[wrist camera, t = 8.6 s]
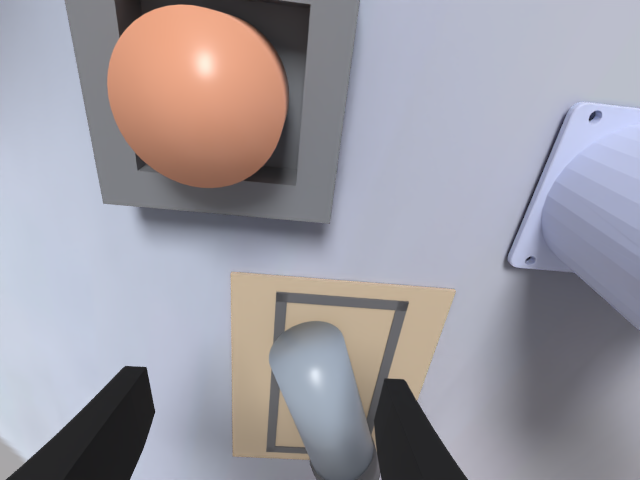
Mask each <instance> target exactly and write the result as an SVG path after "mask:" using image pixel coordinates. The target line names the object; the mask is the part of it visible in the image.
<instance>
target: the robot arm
mask: <svg viewBox="0 0 640 480" xmlns="http://www.w3.org/2000/svg"><path fill="white" fill-rule="evenodd" d="M594 111H595V112H596V114H595V117H594V118H593V119H592V120H591V121H589V116H590V115H591V113H593V112H594ZM530 256H532V257H531V258H530V259H529V260H528V261H525V260H526V259H527V258H528V257H530ZM508 262H509V263H510V264H511V265H512V266H513V267H516V268H526V269H538V270H550V271H562V272H574V273H576V274H577V275H578V276H579V277H580V278H581V279H582V280H583V281H584V282H586V283H587V284H588V285H589V286H590V287H591V288H592V289H593V290H595V291H596V292H597V293H598V294H599V295H600V296H601V297H602V298H603V299H605V300H606V301H607V302H608V303H609V304H610V305H611V306H612V307H613V308H615V309H616V310H617V311H618V312H619V313H620V314H621V315H622V316H623V317H625V318H626V319H627V320H628V321H629V322H630V323H631V324H632V325H634V326H635V327H636V328H637V329H638V330H639V331H640V108H634V107H625V106H616V105H608V104H599V103H591V102H578V103H576V104H574V105H573V106H572V107H571V108H570V109H569V111H568V113H567V115H566V117H565V120H564V122H563V124H562V127H561V129H560V132H559V134H558V137H557V139H556V141H555V144H554V146H553V149H552V151H551V153H550V156H549V158H548V161H547V163H546V165H545V168H544V170H543V173H542V175H541V178H540V180H539V182H538V185H537V187H536V190H535V192H534V194H533V197H532V199H531V202H530V204H529V206H528V209H527V211H526V214H525V216H524V219H523V221H522V223H521V226H520V228H519V231H518V233H517V235H516V238H515V240H514V243H513V245H512V247H511V250H510V252H509V255H508ZM154 414H155V409H154V404H153V398H152V393H151V388H150V383H149V378H148V373H147V368H146V367H133V366H125V367H124V368H122V369H121V370H120V371H119V373H118V374H117V375H116V376H115V377H114V378H113V379H112V380H111V381H110V382H109V383H108V384H107V385H106V386H105V387H104V388H103V389H102V390H101V391H100V392H99V393H98V394H97V395H96V396H95V397H94V398H93V399H92V400H91V401H90V402H89V403H88V404H87V405H86V406H85V407H84V408H83V409H82V410H81V411H80V412H79V413H78V414H77V415H76V416H75V417H74V418H73V419H72V420H71V421H70V422H69V423H68V424H67V425H66V426H65V427H64V428H63V429H62V430H61V431H60V432H59V433H57V434H56V435H55V436H54V437H53V438H52V439H51V440H50V441H49V442H48V443H47V444H46V445H44V446H43V447H42V448H41V449H40V450H39V451H38V452H37V453H36V454H34V455H33V456H32V457H31V458H30V459H29V460H28V461H27V462H26V463H25V464H23V465H22V466H21V467H20V468H19V469H18V470H17V471H15V472H14V473H13V474H12V475H11V476H10V477H8V478H7V479H6V480H130V478H131V476H132V474H133V471H134V469H135V467H136V465H137V462H138V460H139V458H140V455H141V453H142V451H143V448H144V445H145V442H146V439H147V436H148V433H149V430H150V427H151V424H152V420H153V417H154ZM374 428H375V439H376V449H377V457H378V463H379V468H380V473H381V478H382V480H468V479H467V478H466V476H465V475H464V473H463V472H462V471H461V469H460V468H459V466H458V465H457V464H456V462H455V461H454V459H453V458H452V456H451V455H450V453H449V452H448V450H447V449H446V447H445V446H444V444H443V443H442V441H441V439H440V438H439V436H438V435H437V433H436V432H435V430H434V429H433V427H432V425H431V424H430V422H429V420H428V419H427V417H426V415H425V414H424V412H423V410H422V409H421V407H420V405H419V404H418V402H417V400H416V398H415V397H414V395H413V393H412V391H411V389H410V388H409V386H408V384H407V382H406V381H405V380H404V379H389V378H384V382H383V386H382V390H381V394H380V398H379V402H378V406H377V410H376V414H375V418H374Z"/></svg>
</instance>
